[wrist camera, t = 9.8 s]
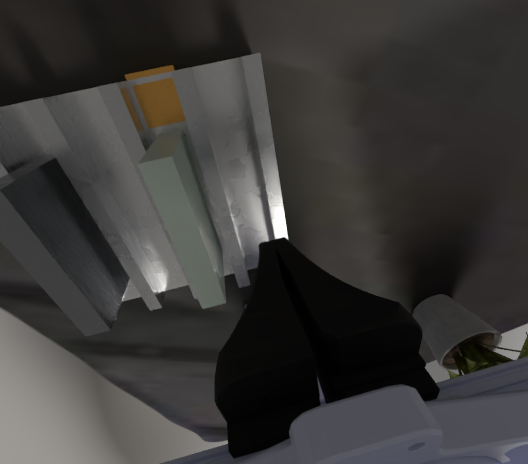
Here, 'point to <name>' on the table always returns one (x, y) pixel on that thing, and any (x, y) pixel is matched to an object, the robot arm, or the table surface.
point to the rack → (135, 183)
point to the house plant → (459, 336)
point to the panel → (185, 214)
